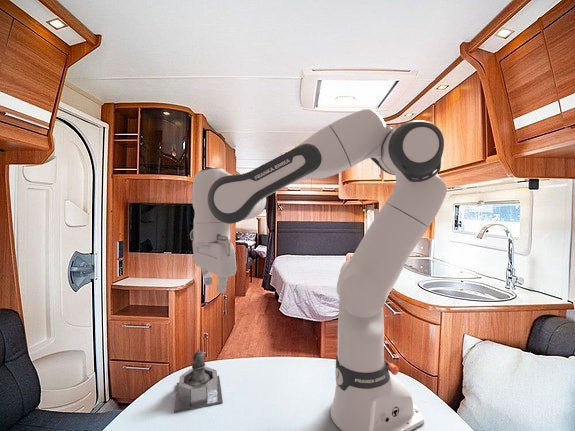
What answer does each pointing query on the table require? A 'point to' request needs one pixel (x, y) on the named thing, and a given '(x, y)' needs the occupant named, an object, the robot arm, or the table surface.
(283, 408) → the table surface
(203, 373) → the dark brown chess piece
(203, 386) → the duct collar
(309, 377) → the table surface
